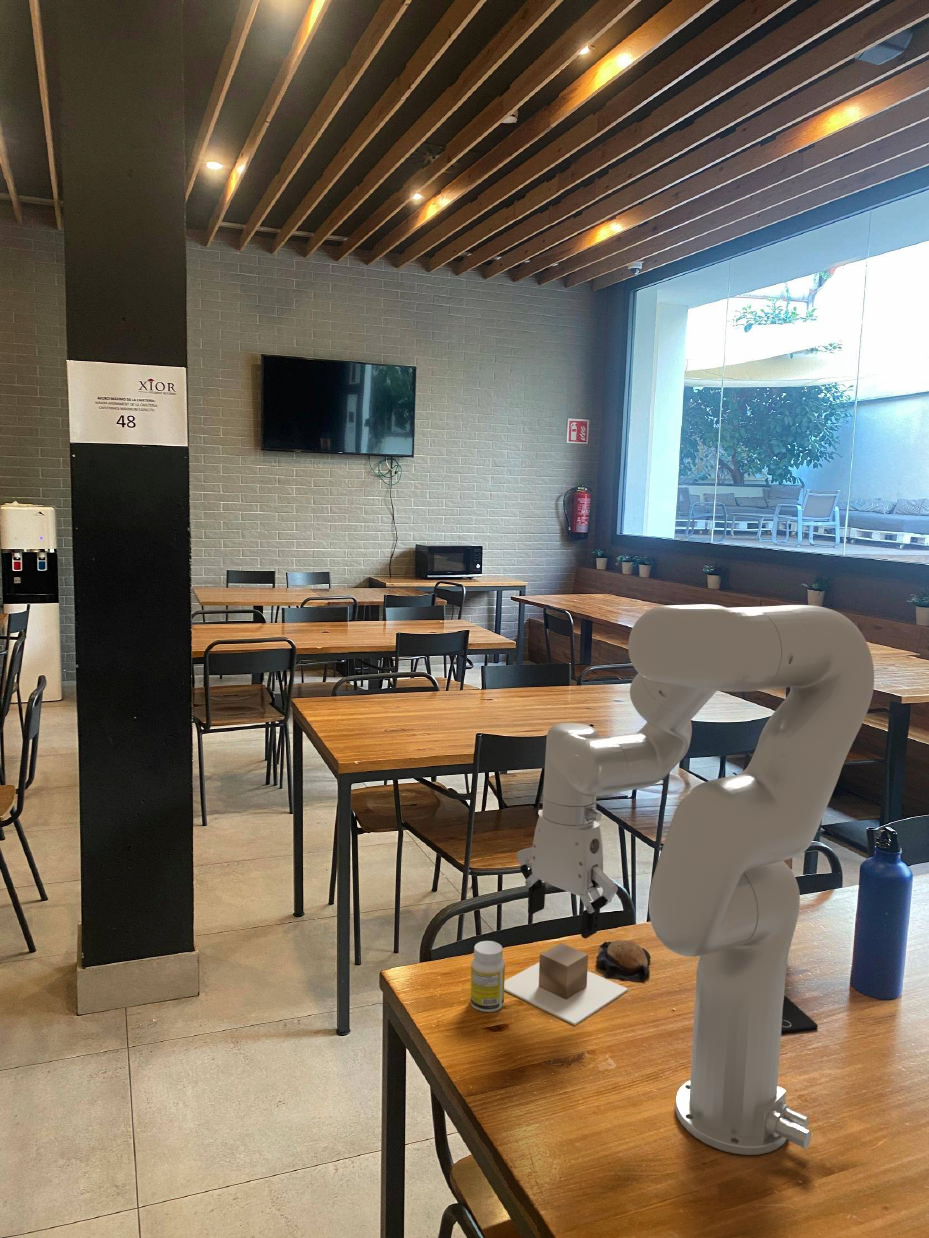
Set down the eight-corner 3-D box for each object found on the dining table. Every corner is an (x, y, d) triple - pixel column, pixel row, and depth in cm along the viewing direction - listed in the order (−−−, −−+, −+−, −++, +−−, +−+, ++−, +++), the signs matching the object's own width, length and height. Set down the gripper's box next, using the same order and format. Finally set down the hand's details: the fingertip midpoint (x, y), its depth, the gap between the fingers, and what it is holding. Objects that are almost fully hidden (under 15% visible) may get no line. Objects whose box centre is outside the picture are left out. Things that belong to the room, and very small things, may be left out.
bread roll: (596, 948, 144) (596, 927, 144) (649, 953, 143) (650, 931, 142) (596, 981, 133) (596, 958, 133) (653, 987, 132) (654, 963, 132)
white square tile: (627, 990, 130) (627, 988, 130) (574, 1025, 121) (575, 1023, 121) (551, 956, 140) (551, 954, 139) (497, 986, 130) (497, 984, 130)
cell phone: (760, 1039, 119) (761, 1032, 119) (696, 973, 137) (696, 967, 136) (819, 1032, 121) (819, 1025, 121) (747, 967, 139) (748, 961, 138)
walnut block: (586, 986, 130) (588, 954, 130) (566, 999, 126) (567, 966, 126) (559, 974, 134) (560, 942, 133) (538, 986, 130) (539, 953, 129)
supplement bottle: (484, 991, 129) (485, 935, 128) (510, 1003, 126) (512, 946, 125) (463, 1004, 125) (464, 947, 124) (489, 1017, 122) (491, 958, 121)
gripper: (634, 820, 124) (626, 936, 126) (538, 789, 136) (532, 895, 138) (604, 833, 119) (596, 954, 121) (505, 800, 130) (500, 910, 133)
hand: (561, 922), depth 130 cm, fingers open, 9 cm apart
